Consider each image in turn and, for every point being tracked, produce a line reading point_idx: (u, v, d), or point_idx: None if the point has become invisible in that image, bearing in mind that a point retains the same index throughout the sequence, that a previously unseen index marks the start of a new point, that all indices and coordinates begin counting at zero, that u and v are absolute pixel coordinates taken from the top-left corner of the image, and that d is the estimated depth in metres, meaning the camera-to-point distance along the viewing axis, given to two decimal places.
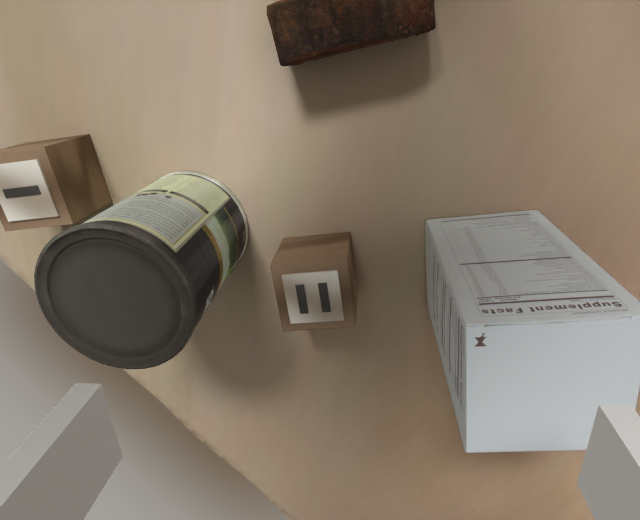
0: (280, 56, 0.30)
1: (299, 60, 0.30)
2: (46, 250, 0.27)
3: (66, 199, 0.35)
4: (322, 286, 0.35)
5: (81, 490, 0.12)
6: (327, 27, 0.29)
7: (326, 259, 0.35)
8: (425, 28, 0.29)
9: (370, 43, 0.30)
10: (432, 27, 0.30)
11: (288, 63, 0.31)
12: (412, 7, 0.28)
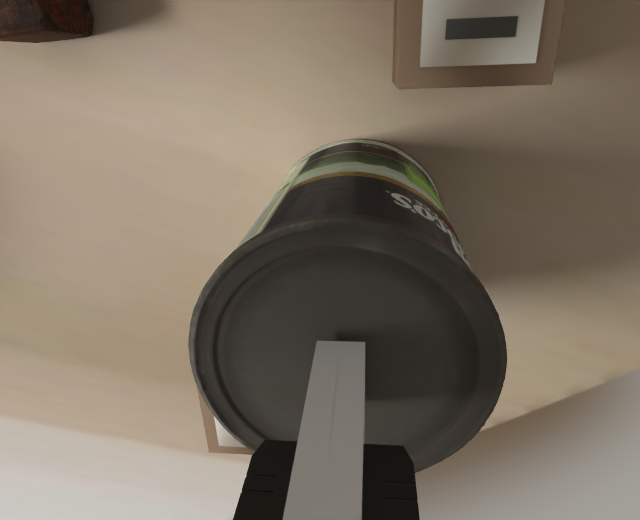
0: (35, 26, 0.20)
1: None
2: (237, 435, 0.16)
3: None
4: None
5: None
6: None
7: None
8: None
9: None
10: None
11: (45, 15, 0.20)
12: None
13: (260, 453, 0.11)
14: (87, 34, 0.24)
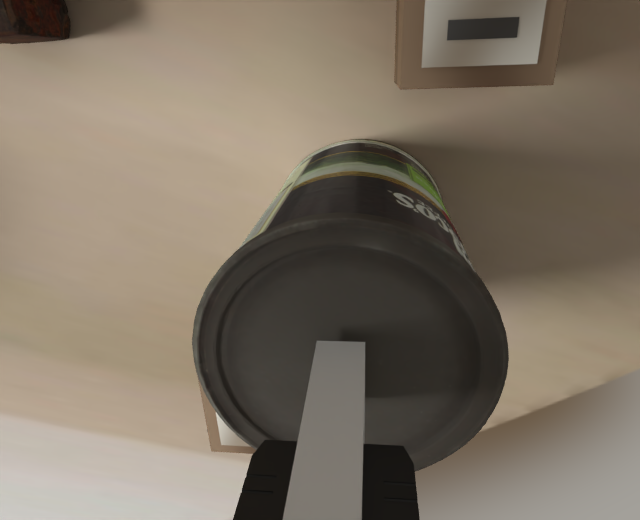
0: (8, 30, 0.21)
1: (12, 0, 0.20)
2: (240, 433, 0.16)
3: None
4: None
5: None
6: None
7: None
8: None
9: None
10: None
11: (19, 19, 0.21)
12: None
13: (260, 453, 0.11)
14: (64, 37, 0.24)
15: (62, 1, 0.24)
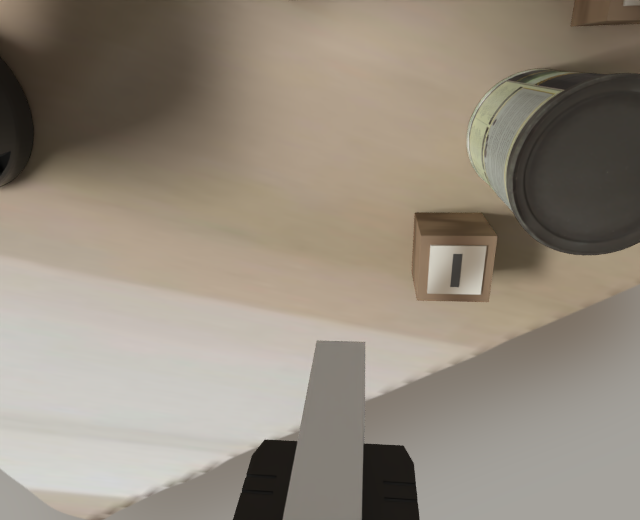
0: None
1: None
2: (525, 223, 0.27)
3: (472, 234, 0.37)
4: None
5: None
6: None
7: None
8: None
9: None
10: None
11: None
12: None
13: (260, 453, 0.11)
14: None
15: None
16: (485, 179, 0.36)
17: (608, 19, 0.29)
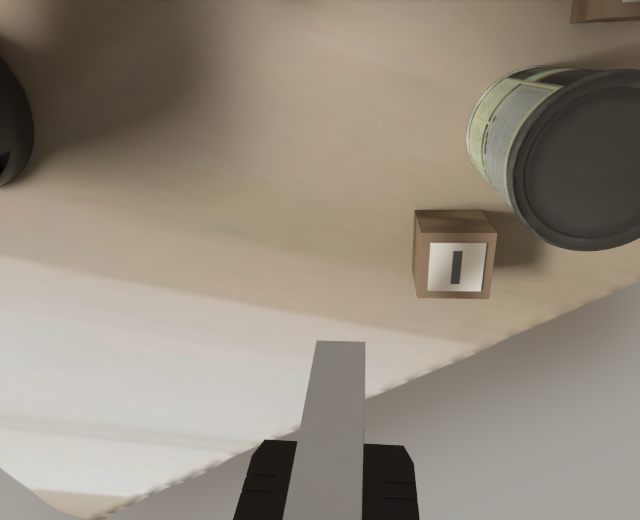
0: None
1: None
2: (525, 219, 0.27)
3: (472, 231, 0.37)
4: None
5: None
6: None
7: None
8: None
9: None
10: None
11: None
12: None
13: (260, 453, 0.11)
14: None
15: None
16: (485, 176, 0.36)
17: (607, 16, 0.29)
